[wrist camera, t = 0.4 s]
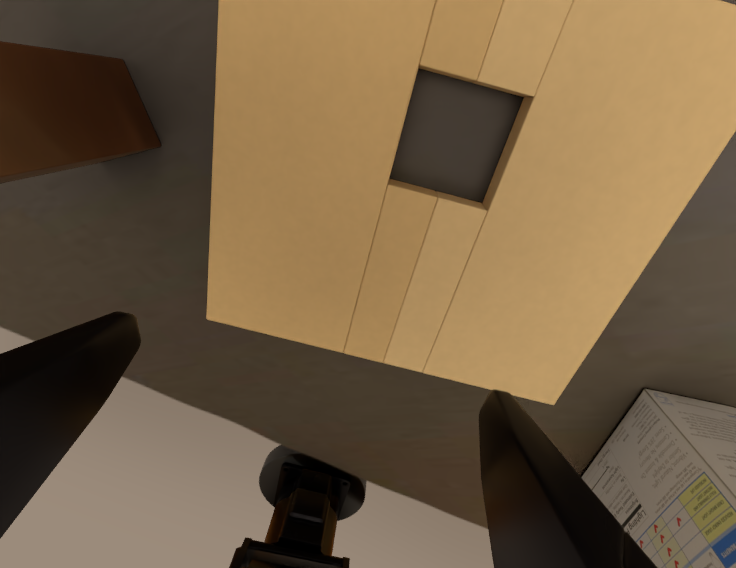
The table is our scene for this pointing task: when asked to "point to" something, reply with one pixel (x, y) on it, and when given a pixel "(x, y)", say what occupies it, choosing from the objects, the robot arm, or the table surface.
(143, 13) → the table surface
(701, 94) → the pad
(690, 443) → the light bulb box
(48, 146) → the peg
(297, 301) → the pad
